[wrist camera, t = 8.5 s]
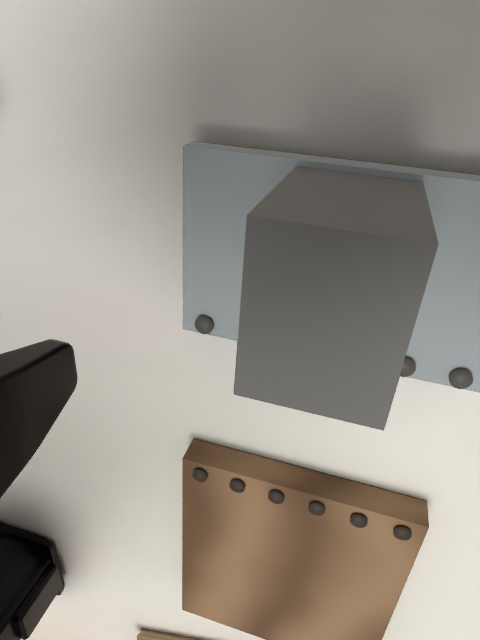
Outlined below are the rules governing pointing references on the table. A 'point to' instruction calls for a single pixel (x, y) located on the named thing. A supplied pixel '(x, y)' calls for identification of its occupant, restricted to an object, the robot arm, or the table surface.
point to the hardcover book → (159, 636)
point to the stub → (332, 275)
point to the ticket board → (293, 547)
